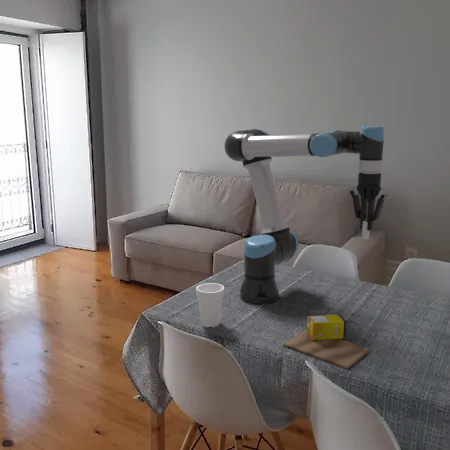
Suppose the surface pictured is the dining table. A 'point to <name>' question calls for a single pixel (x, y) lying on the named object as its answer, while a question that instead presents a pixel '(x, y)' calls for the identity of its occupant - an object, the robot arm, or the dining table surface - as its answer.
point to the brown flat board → (328, 349)
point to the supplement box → (326, 327)
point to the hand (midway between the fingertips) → (365, 238)
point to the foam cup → (210, 303)
